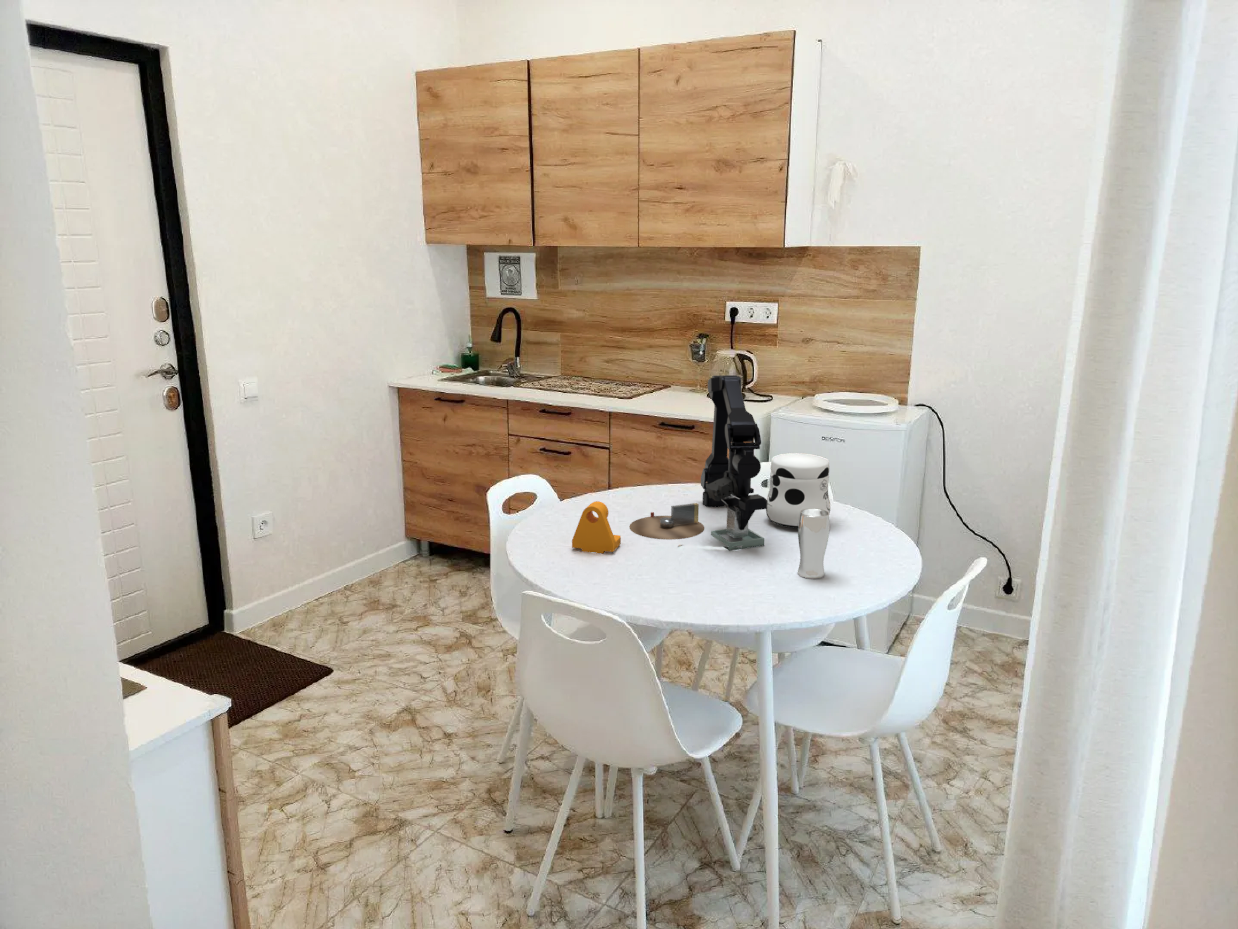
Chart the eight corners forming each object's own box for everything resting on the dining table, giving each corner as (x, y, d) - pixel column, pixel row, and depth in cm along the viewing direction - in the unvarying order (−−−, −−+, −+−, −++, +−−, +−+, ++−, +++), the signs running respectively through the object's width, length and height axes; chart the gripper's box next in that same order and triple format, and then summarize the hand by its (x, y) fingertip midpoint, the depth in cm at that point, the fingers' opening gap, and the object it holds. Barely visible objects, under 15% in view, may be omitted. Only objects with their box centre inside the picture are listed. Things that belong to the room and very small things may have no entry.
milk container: (842, 525, 236) (847, 461, 232) (797, 537, 227) (800, 470, 222) (796, 510, 250) (799, 449, 246) (751, 520, 241) (754, 457, 236)
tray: (744, 534, 229) (744, 526, 229) (764, 545, 220) (764, 538, 220) (710, 538, 226) (711, 531, 225) (729, 550, 217) (729, 543, 216)
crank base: (684, 515, 245) (684, 508, 244) (717, 537, 227) (717, 529, 226) (618, 523, 238) (618, 516, 237) (647, 546, 219) (647, 538, 219)
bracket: (621, 545, 221) (621, 500, 218) (613, 555, 214) (613, 508, 211) (581, 541, 224) (581, 496, 221) (572, 550, 217) (571, 504, 214)
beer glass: (793, 568, 205) (796, 507, 201) (823, 569, 205) (827, 508, 201) (798, 579, 198) (801, 516, 195) (829, 580, 198) (833, 517, 194)
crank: (663, 528, 229) (663, 509, 228) (657, 524, 233) (658, 506, 231) (700, 523, 233) (700, 505, 232) (694, 519, 237) (694, 501, 235)
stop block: (740, 531, 225) (741, 505, 223) (747, 536, 222) (748, 510, 220) (726, 533, 224) (727, 507, 222) (733, 538, 220) (734, 511, 218)
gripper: (694, 462, 224) (693, 520, 228) (729, 480, 207) (727, 542, 211) (732, 458, 228) (730, 515, 232) (769, 476, 211) (767, 537, 215)
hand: (737, 527), depth 222 cm, fingers closed on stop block, 4 cm apart
